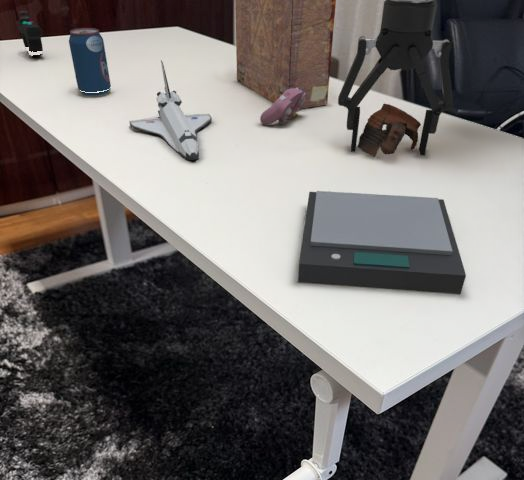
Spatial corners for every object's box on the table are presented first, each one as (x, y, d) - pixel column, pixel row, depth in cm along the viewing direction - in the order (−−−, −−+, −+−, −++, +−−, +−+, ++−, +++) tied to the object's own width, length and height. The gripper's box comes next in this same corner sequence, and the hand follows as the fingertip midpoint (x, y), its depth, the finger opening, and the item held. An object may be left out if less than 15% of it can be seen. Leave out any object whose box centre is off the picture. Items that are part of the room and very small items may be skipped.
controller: (39, 51, 148) (29, 9, 142) (50, 61, 140) (40, 16, 134) (23, 53, 146) (12, 10, 140) (33, 63, 138) (22, 18, 132)
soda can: (115, 95, 117) (105, 32, 109) (83, 99, 114) (70, 35, 107) (107, 87, 121) (97, 26, 114) (76, 91, 119) (63, 28, 111)
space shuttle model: (147, 168, 86) (138, 101, 80) (127, 120, 104) (118, 62, 98) (240, 157, 90) (239, 93, 84) (205, 112, 108) (201, 57, 101)
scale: (439, 216, 74) (444, 194, 72) (460, 294, 60) (467, 270, 58) (308, 208, 76) (309, 187, 74) (297, 282, 61) (299, 258, 59)
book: (236, 81, 126) (232, -84, 107) (271, 76, 129) (274, -84, 110) (288, 111, 109) (295, -79, 90) (327, 105, 112) (342, -79, 93)
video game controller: (275, 136, 102) (291, 104, 97) (256, 121, 102) (271, 88, 97) (298, 122, 109) (315, 91, 103) (281, 108, 109) (296, 76, 104)
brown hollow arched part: (348, 143, 96) (373, 98, 93) (393, 169, 98) (418, 125, 95) (362, 150, 86) (390, 99, 82) (411, 178, 88) (440, 129, 85)
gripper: (489, -4, 80) (453, 146, 94) (330, -8, 82) (319, 139, 96) (499, 4, 74) (460, 162, 88) (329, -1, 76) (317, 155, 90)
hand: (387, 150), depth 92 cm, fingers open, 11 cm apart
